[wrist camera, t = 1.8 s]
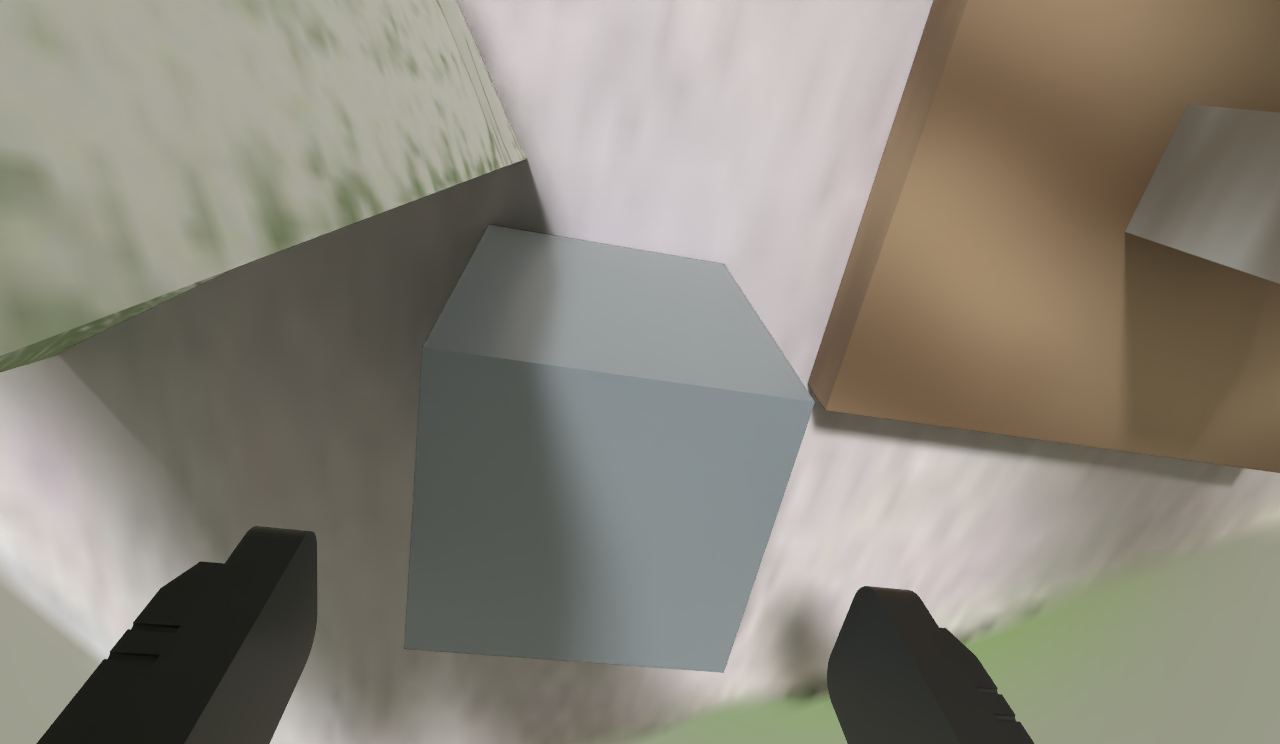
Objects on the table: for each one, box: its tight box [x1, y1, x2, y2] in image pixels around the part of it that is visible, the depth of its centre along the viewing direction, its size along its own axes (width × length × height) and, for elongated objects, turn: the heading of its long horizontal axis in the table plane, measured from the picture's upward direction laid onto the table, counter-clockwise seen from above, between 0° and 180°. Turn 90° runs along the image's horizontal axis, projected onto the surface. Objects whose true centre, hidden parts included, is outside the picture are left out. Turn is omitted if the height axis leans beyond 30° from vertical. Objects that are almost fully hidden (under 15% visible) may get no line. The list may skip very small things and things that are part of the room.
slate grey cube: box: [404, 225, 815, 673], centre depth 14 cm, size 6×6×7 cm
